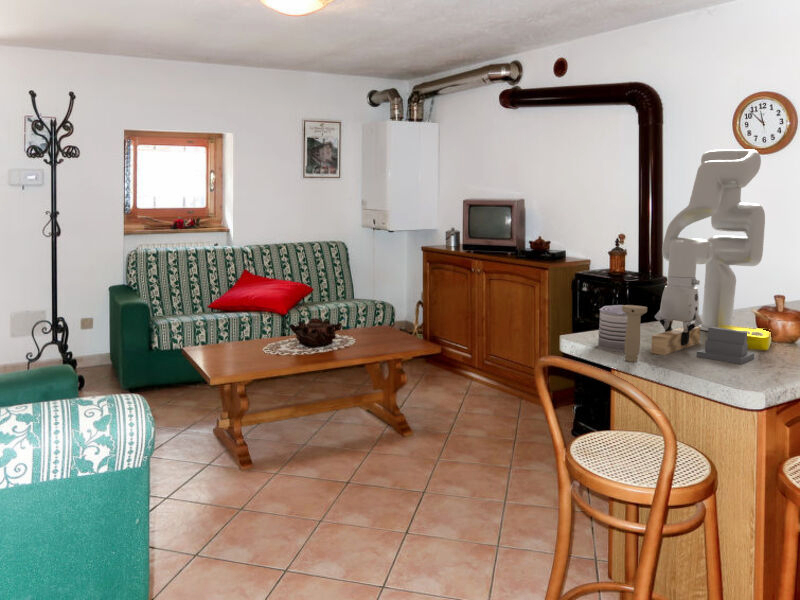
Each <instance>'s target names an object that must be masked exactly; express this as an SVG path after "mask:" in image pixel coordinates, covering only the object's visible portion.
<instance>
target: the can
mask: <svg viewBox="0 0 800 600" xmlns="http://www.w3.org/2000/svg"><path fill="white" fill-rule="evenodd" d="M623 305H624V304H614V305H604V306H603V307H601V308H599V309H598V310H599V325H598V326H599V327H598V338H597V341H598V342H597V346H598V347H599V349H602V348H603V349H602V350H605V349H606V351H610V352H624V353H625V335H626V328H627V319H628V317H627V314H626V313H625V312H623V311H622V306H623Z"/></svg>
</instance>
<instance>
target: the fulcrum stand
mask: <svg viewBox="0 0 800 600" xmlns="http://www.w3.org/2000/svg"><path fill="white" fill-rule="evenodd" d="M747 334H748V332H745V331H738V330H731V329H725V328H718V327H708V331H707V337H706V339H705V345H704V348H702V349H700V350H697V351H696V358H697V357H698V358H701V359H702V358H704V359H709V360H715V361H720V362H727V363H732V364H737V365H743V364H745V363H747V362H749V361H752V360H754V359H755V353H754V352H748V349H747V348H748V344H747Z"/></svg>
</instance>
